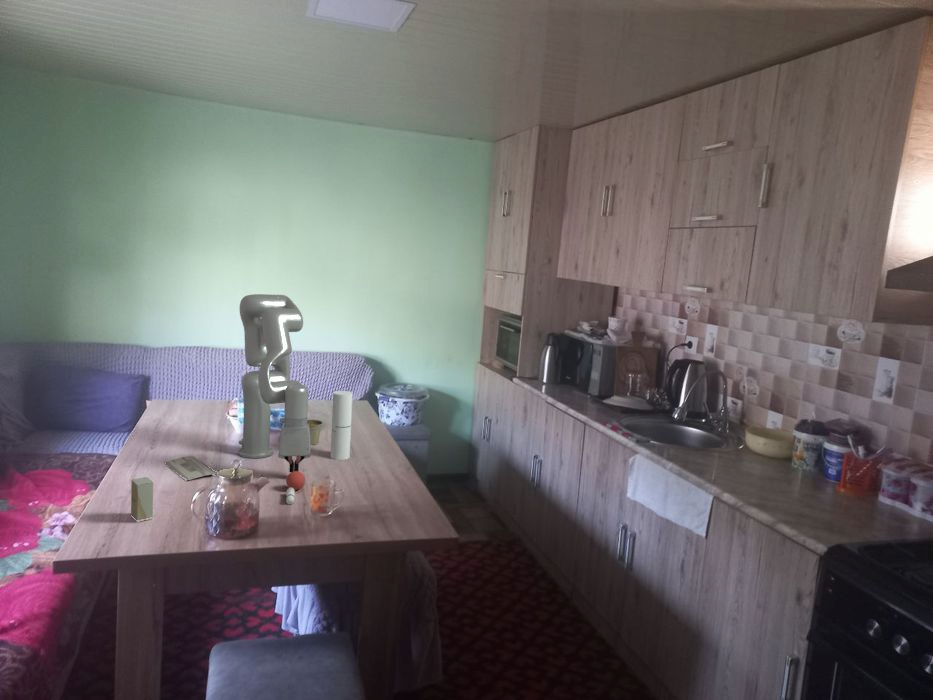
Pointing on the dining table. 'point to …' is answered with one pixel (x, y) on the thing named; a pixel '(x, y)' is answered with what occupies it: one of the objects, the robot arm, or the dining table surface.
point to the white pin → (290, 495)
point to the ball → (295, 480)
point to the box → (141, 498)
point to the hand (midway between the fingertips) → (293, 474)
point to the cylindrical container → (341, 425)
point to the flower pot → (314, 430)
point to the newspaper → (190, 467)
